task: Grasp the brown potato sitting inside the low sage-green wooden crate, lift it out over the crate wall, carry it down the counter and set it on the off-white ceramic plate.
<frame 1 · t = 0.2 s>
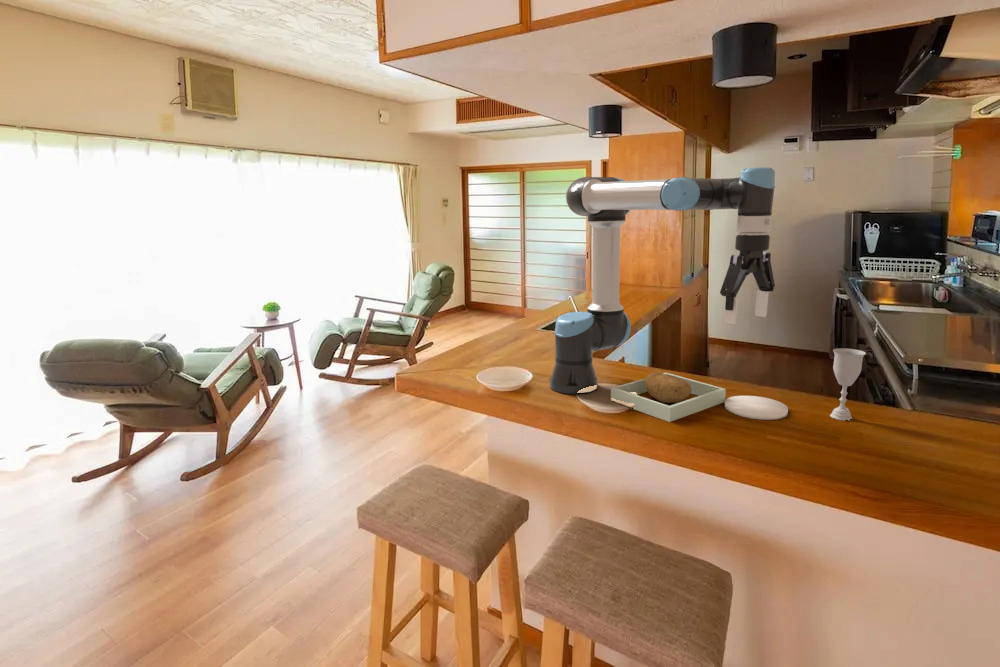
hand: (745, 319, 138), 27 cm above the table, fingers open, 13 cm apart
potato: (667, 402, 160), resting in crate
chalice: (840, 417, 146), on the table
plate: (755, 409, 153), on the table
crate: (667, 401, 160), on the table
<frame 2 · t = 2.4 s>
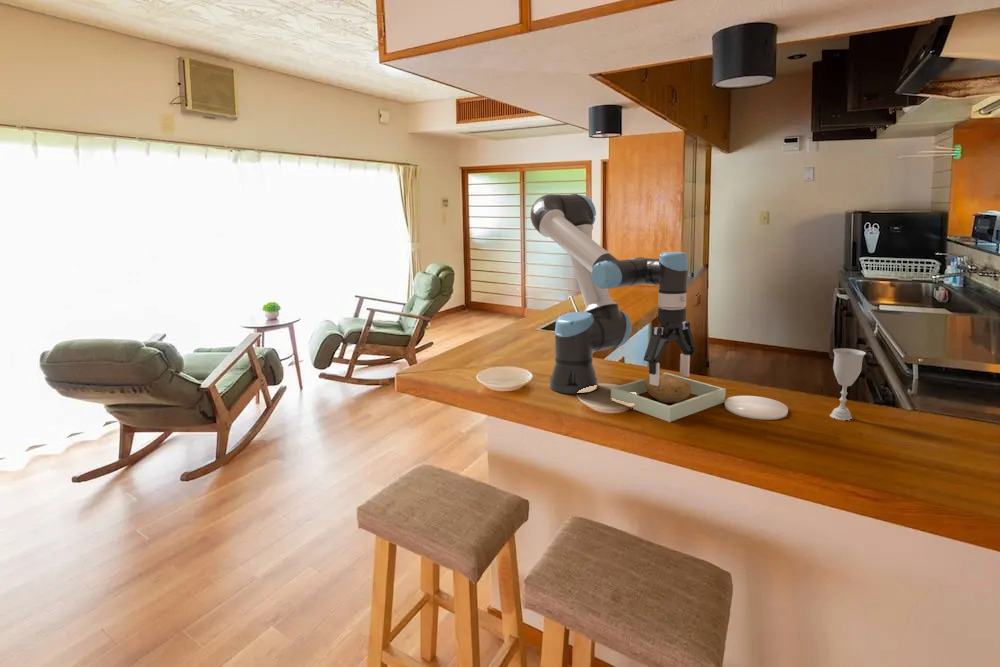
hand: (669, 380, 158), 7 cm above the table, fingers open, 13 cm apart
nothing on the table moved.
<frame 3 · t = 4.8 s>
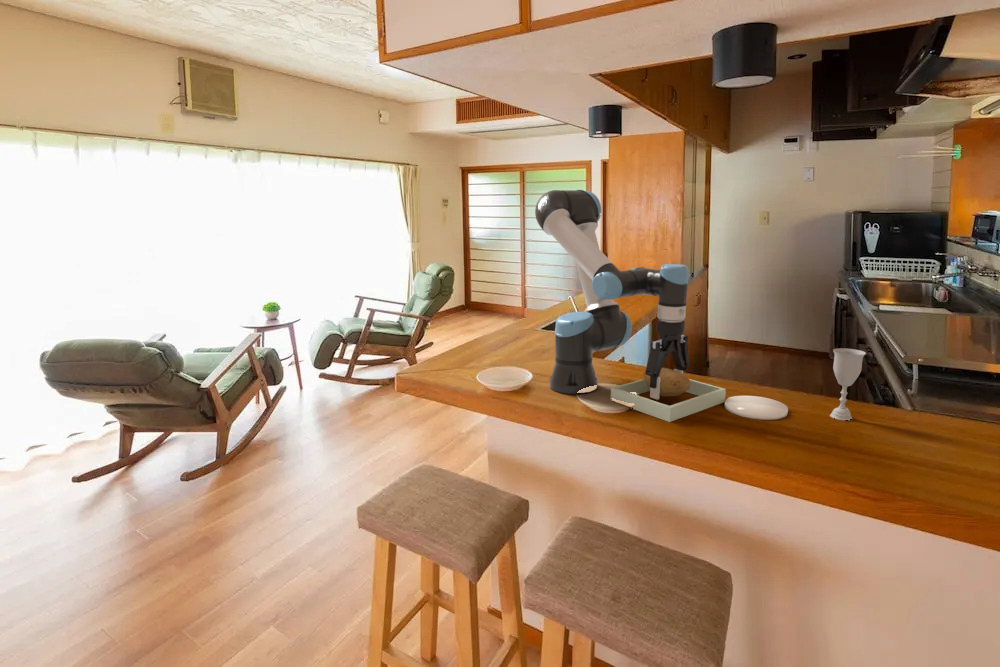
hand: (665, 394, 160), 2 cm above the table, fingers closed on potato, 9 cm apart
potato: (665, 395, 161), point 2 cm above the table, touching gripper
everything else where it was.
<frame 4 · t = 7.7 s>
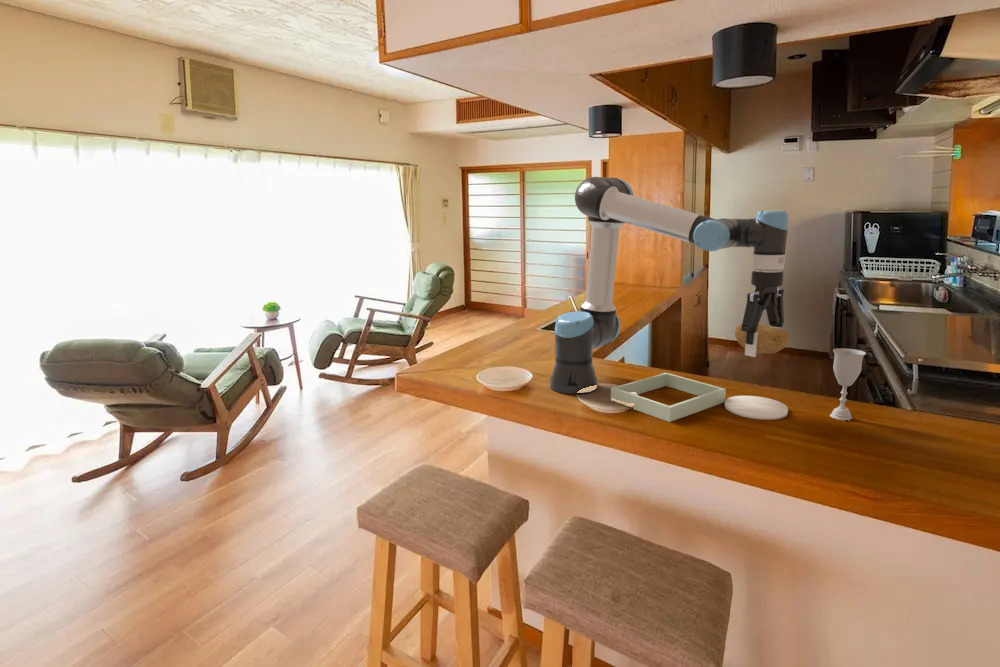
hand: (760, 352, 149), 16 cm above the table, fingers closed on potato, 9 cm apart
potato: (760, 354, 150), point 16 cm above the table, touching gripper
everything else where it was.
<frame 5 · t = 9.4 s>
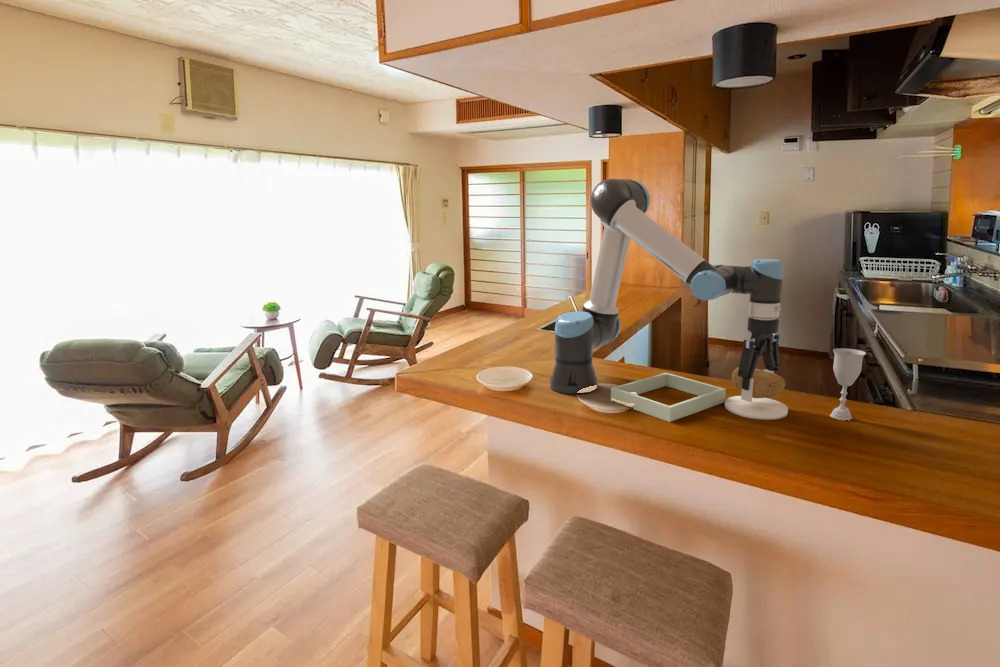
hand: (756, 396, 152), 4 cm above the table, fingers closed on potato, 9 cm apart
potato: (756, 397, 152), point 3 cm above the table, touching gripper
everything else where it was.
when the fingers open (3 cm above the table, at t = 10.5 s): potato drops 2 cm, resting on plate.
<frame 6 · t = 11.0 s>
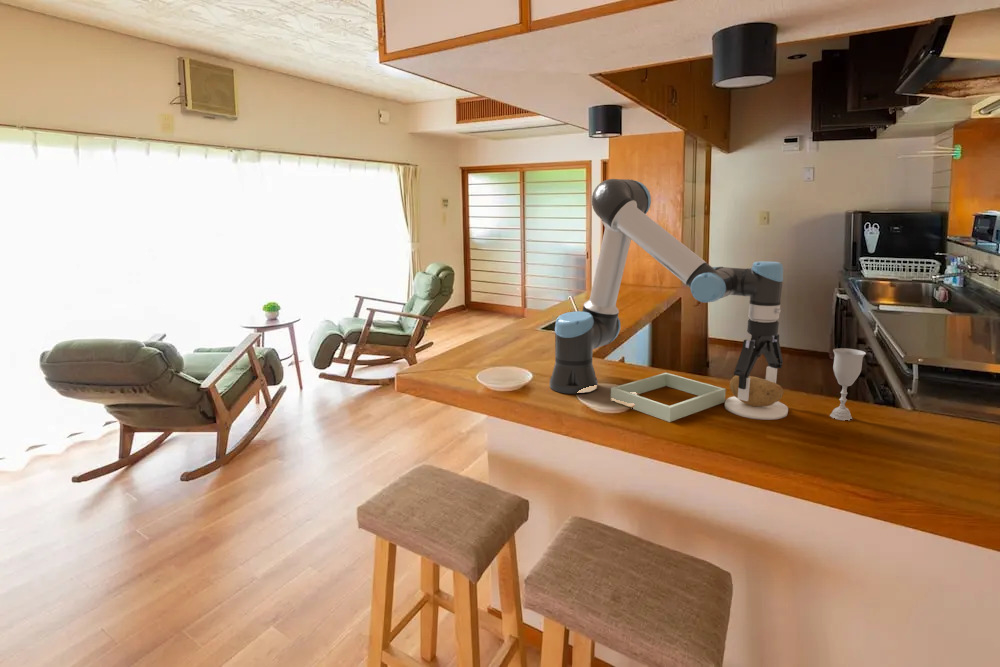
hand: (756, 394, 152), 4 cm above the table, fingers open, 13 cm apart
potato: (754, 405, 153), point 1 cm above the table, touching plate
everything else where it was.
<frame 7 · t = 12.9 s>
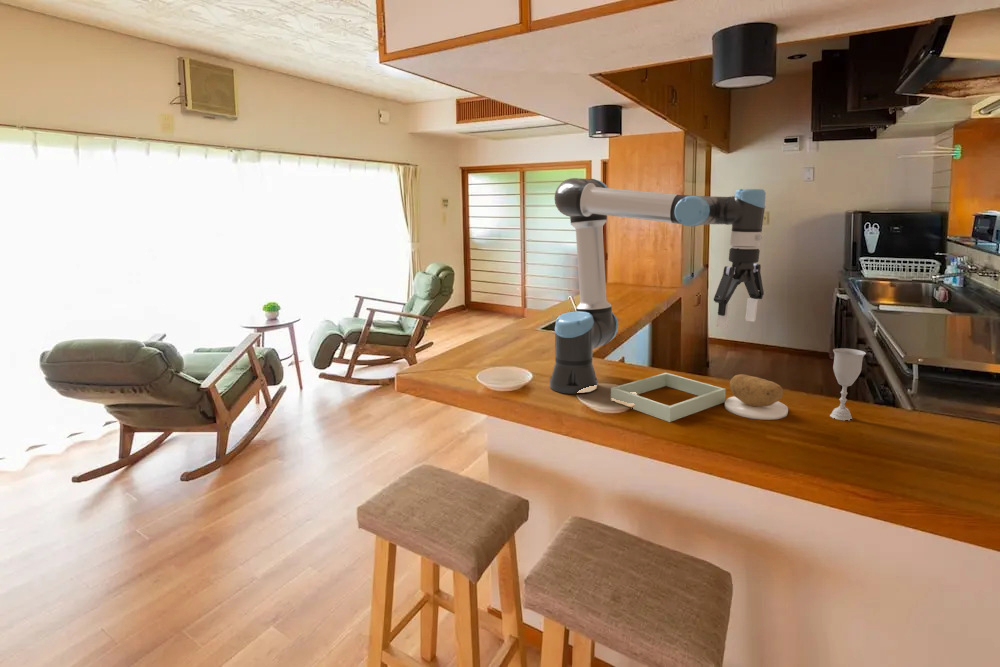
hand: (736, 324, 154), 23 cm above the table, fingers open, 13 cm apart
nothing on the table moved.
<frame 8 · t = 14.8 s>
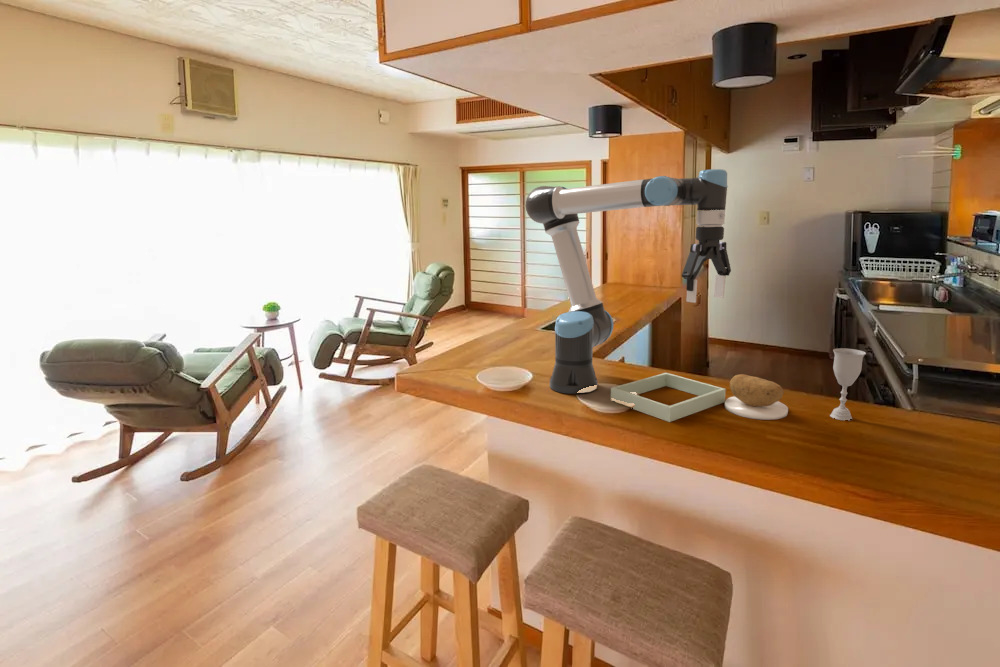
hand: (705, 299, 161), 29 cm above the table, fingers open, 13 cm apart
nothing on the table moved.
at the end: potato 0.3 cm from the plate (horizontally); potato touching plate; the gripper is holding nothing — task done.
